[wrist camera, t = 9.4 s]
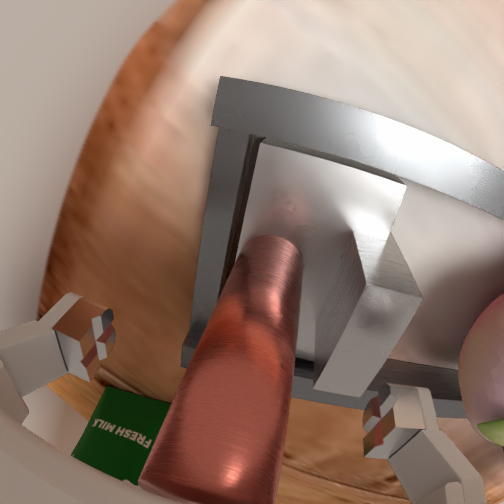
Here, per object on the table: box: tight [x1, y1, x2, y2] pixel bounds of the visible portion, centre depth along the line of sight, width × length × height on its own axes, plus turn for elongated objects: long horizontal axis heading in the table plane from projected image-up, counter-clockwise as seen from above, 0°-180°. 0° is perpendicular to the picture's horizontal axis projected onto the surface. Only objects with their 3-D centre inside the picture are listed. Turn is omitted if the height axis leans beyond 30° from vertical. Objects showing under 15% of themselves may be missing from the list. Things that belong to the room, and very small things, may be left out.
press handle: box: [138, 138, 423, 504], centre depth 10 cm, size 6×10×12 cm, turn 168°
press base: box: [181, 76, 504, 450], centre depth 11 cm, size 24×14×9 cm, turn 78°
